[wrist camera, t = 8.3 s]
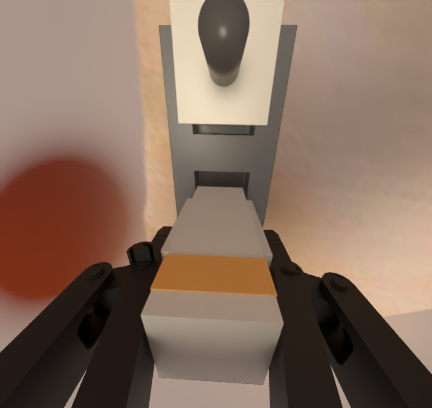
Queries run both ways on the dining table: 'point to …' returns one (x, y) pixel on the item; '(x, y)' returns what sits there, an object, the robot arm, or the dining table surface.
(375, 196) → the dining table surface
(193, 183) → the grey flat block
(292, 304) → the robot arm
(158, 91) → the dining table surface
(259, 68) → the twin plug
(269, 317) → the plug
